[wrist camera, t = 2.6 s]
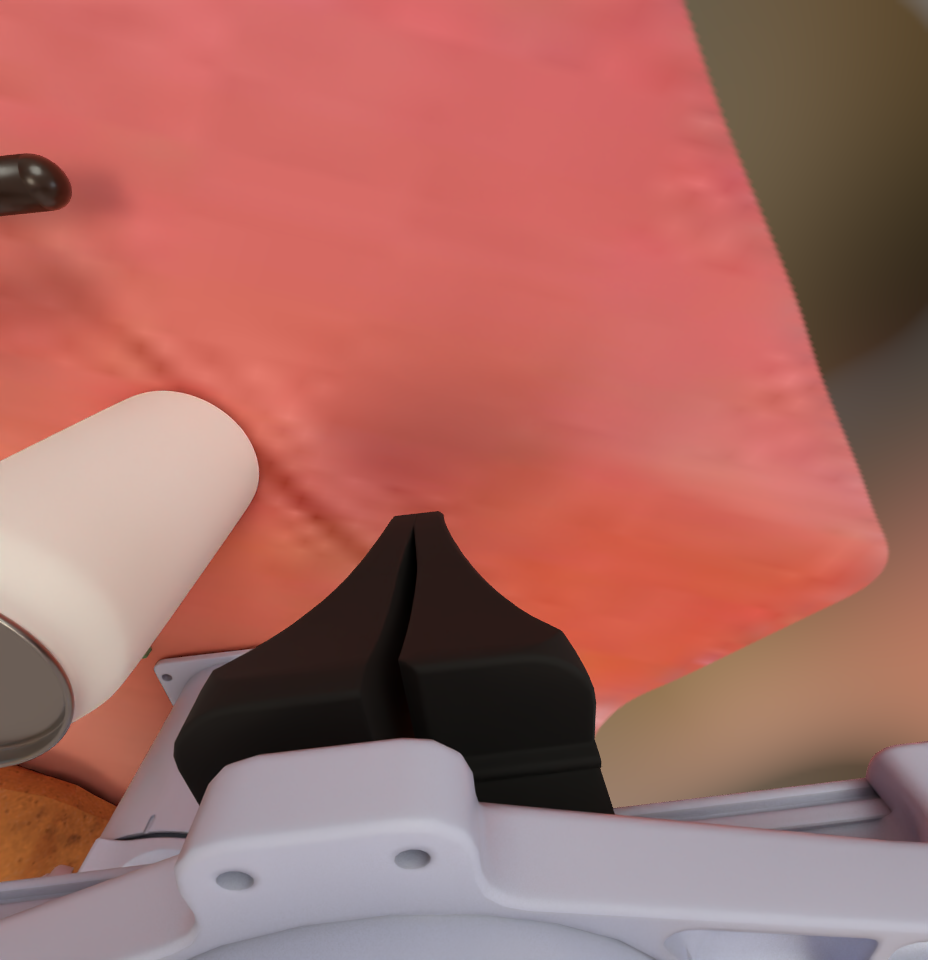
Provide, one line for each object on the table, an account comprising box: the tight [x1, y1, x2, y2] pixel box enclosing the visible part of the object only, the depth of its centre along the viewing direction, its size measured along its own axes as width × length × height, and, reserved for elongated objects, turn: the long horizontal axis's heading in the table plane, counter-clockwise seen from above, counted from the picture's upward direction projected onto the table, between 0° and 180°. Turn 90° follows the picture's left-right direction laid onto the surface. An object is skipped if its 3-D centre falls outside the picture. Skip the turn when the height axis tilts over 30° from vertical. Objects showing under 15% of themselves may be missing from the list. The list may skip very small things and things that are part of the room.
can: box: [0, 391, 259, 768], centre depth 15 cm, size 6×6×12 cm
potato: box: [0, 765, 117, 882], centre depth 27 cm, size 7×13×7 cm, turn 32°
